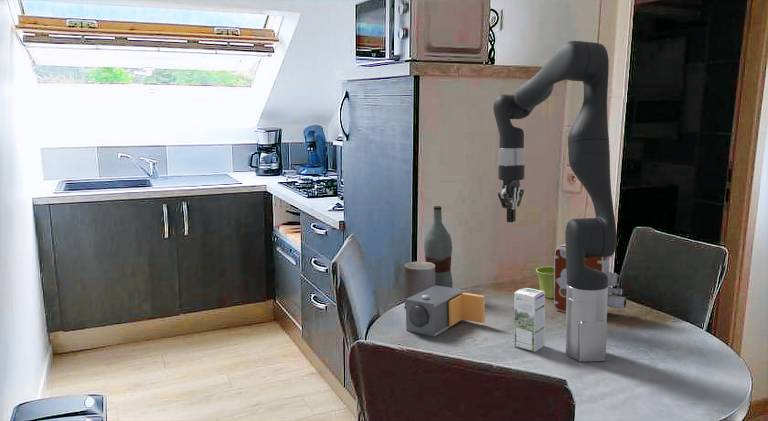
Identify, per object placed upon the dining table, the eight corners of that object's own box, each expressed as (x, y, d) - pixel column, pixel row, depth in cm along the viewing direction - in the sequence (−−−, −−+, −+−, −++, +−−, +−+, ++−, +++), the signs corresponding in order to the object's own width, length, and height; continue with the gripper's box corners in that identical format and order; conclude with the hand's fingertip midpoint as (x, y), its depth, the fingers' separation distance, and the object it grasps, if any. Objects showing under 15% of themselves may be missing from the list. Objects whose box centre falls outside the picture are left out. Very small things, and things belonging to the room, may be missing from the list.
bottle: (419, 296, 188) (417, 207, 184) (435, 290, 195) (433, 203, 191) (442, 301, 182) (441, 209, 178) (458, 294, 189) (457, 205, 185)
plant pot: (569, 300, 180) (569, 273, 179) (539, 300, 180) (540, 274, 179) (560, 291, 189) (561, 266, 188) (532, 292, 189) (532, 267, 188)
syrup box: (545, 345, 143) (546, 290, 141) (533, 353, 139) (534, 295, 137) (525, 340, 147) (525, 286, 145) (513, 347, 143) (513, 291, 141)
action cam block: (435, 314, 170) (435, 282, 168) (463, 319, 164) (462, 286, 163) (404, 331, 156) (403, 297, 154) (433, 338, 151) (432, 302, 149)
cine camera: (619, 323, 157) (621, 253, 155) (551, 311, 169) (552, 246, 166) (628, 314, 165) (630, 247, 162) (562, 303, 176) (563, 240, 173)
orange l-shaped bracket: (462, 317, 163) (462, 292, 162) (484, 321, 159) (484, 295, 158) (448, 325, 157) (448, 299, 156) (471, 330, 153) (471, 303, 152)
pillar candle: (398, 308, 176) (397, 261, 174) (418, 300, 183) (417, 255, 181) (422, 315, 170) (421, 266, 167) (442, 307, 177) (441, 260, 174)
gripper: (509, 162, 174) (509, 218, 176) (489, 164, 164) (489, 223, 166) (532, 162, 170) (532, 220, 172) (513, 164, 159) (512, 225, 161)
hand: (511, 221), depth 169 cm, fingers closed
